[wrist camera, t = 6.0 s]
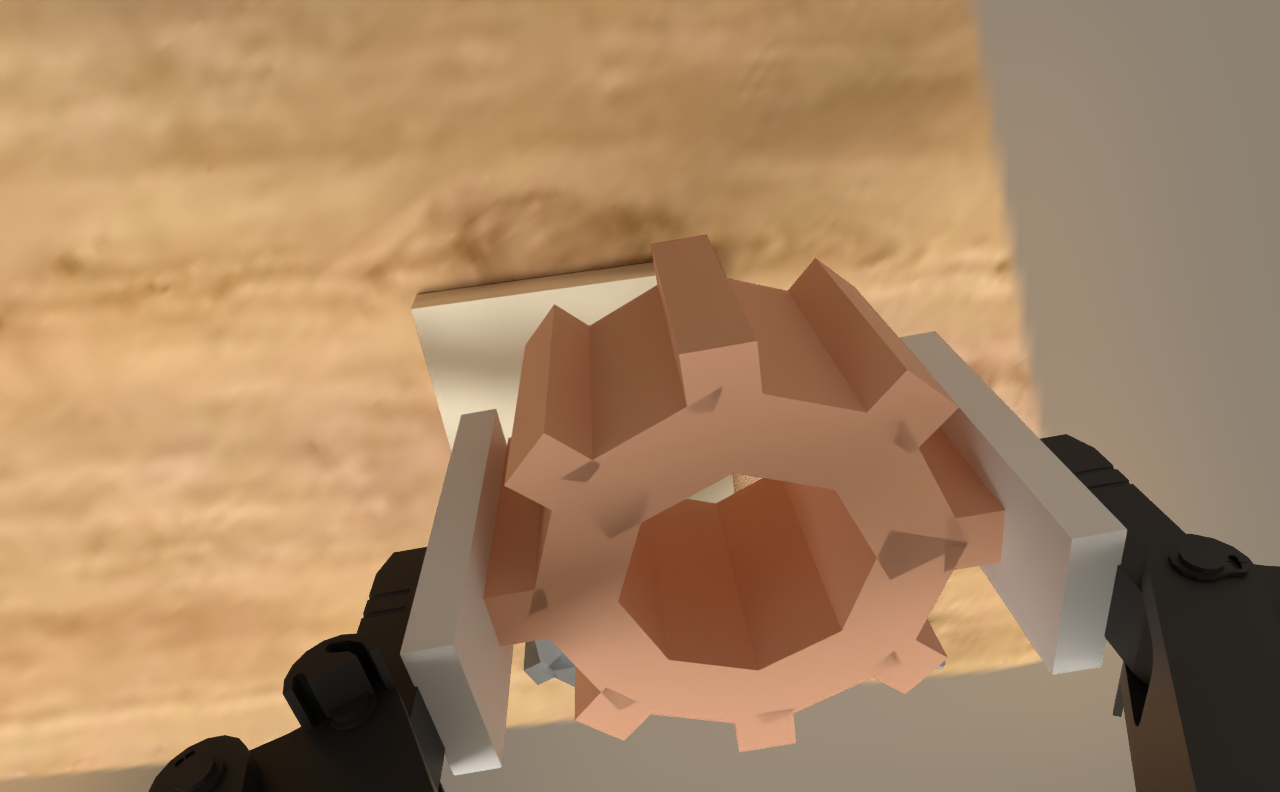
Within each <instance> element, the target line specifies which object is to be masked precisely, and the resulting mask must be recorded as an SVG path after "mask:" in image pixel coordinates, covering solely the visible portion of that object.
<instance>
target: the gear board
mask: <svg viewBox="0 0 1280 792" xmlns="http://www.w3.org/2000/svg"><path fill="white" fill-rule="evenodd" d="M656 285H657V280H656V274H655V268H654V262H650V263H643V264H635V265H628V266H621V267H614V268H606V269H599V270H592V271H584V272H577V273H570V274H562V275H555V276H548V277H540V278H533V279H526V280H519V281H511V282H504V283H497V284H489V285H482V286H475V287H467V288H460V289H453V290H446V291H438V292H431V293H424V294H417V296H416V298H415V301H414V303H413V305H412V307H411V312H412V316H413V319H414V323H415V326H416V330H417V333H418V337H419V340H420V344H421V347H422V351H423V354H424V357H425V361H426V364H427V368H428V371H429V375H430V378H431V382H432V385H433V389H434V392H435V396H436V399H437V403H438V406H439V410H440V413H441V417H442V420H443V424H444V427H445V431H446V434H447V438H448V441H449V444H450V448H451V451H452V449H453V445H454V441H455V437H456V433H457V429H458V426H459V422H460V418H461V415H463V414H469V413H474V412H480V411H486V410H491V409H497V413H498V416H499V420H500V423H501V426H502V430H503V433H504V437H505V440H506V443H508V438H510V437H512V430H513V423H514V417H515V410H516V403H517V397H518V390H519V383H520V377H521V370H522V363H523V357H524V350H525V345H526V343H527V342H528V341H529V339H530V338H531V336H532V335H533V334H534V332H535V331H536V329H537V328H538V326H539V325H540V324H541V322H542V321H543V319H544V318H545V317H546V315H547V314H548V312H549V311H550V309H551V308H552V307H553V305H554V304H555V305H557V306H558V307H560V308H562V309H563V310H565V311H566V312H568V313H570V314H571V315H573V316H574V317H576V318H578V319H579V320H581V321H582V322H584V323H586V324H587V325H589V326H590V325H592V324H593V323H595V322H597V321H598V320H600V319H602V318H603V317H605V316H607V315H608V314H610V313H611V312H613V311H615V310H616V309H618V308H620V307H621V306H623V305H625V304H626V303H628V302H630V301H631V300H633V299H635V298H636V297H638V296H640V295H641V294H643V293H644V292H646V291H648V290H649V289H651V288H653V287H654V286H656ZM732 494H734V485H733V474H731V475H729V476H728V477H726V478H724V479H722V480H720V481H718V482H716V483H714V484H713V485H711V486H709V487H707V488H705V489H703V490H701V491H700V492H698V493H696V494H694V495H692V496H690V497H688V498H687V499H691V500H698V501H704V502H711V503H717V502H719V501H721V500H723V499H725V498H727V497H729V496H730V495H732ZM524 671H525V672H526V673H527V674H528V675H529V676H530V677H531V678H532V679H533V680H534V682H535V683H536V684H537V685H539V684H541V683H543V682H545V681H548V680H550V679H552V678H554V677H555V678H557V679H559V680H561V681H563V682H566V683H568V684H570V685H572V686H574V687H575V665H574V664H573V663H572V662H571V661H570V660H569V659H568V658H567V657H566V655H565V654H564V653H563V652H562V651H561V650H560V649H559V648H558V647H557V646H556V645H555V644H554V643H553V642H552V641H551V640H550V639H549V638H547V639H541V640H535V641H529V642H526V644H525V659H524Z"/></svg>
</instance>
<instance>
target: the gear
mask: <svg viewBox="0 0 1280 792" xmlns="http://www.w3.org/2000/svg"><path fill="white" fill-rule="evenodd" d="M651 249H652V255H653V262H654V268H655V274H656V280H657V285H656V286H654V287H653V288H651V289H649V290H648V291H646V292H644V293H643V294H641V295H640V296H638V297H636V298H635V299H633V300H631V301H630V302H628V303H626V304H625V305H623V306H621V307H620V308H618V309H616V310H615V311H613V312H611V313H610V314H608V315H607V316H605V317H603V318H602V319H600V320H598V321H597V322H595V323H593V324H592V325H590V326H589V325H587V324H586V323H584V322H582V321H581V320H579V319H578V318H576V317H574V316H573V315H571V314H570V313H568V312H566V311H565V310H563V309H562V308H560V307H558V306H557V305H555V304H554V305H553V307H552V308H551V309H550V311H549V312H548V314H547V315H546V317H545V318H544V319H543V321H542V322H541V324H540V325H539V326H538V328H537V329H536V331H535V332H534V334H533V335H532V336H531V338H530V339H529V341H528V342H527V343H526V345H525V350H524V357H523V363H522V370H521V377H520V383H519V390H518V397H517V403H516V410H515V417H514V423H513V430H512V437H510V438H508V443H507V449H506V455H505V462H504V468H503V475H502V481H501V487H500V494H499V500H498V507H497V513H496V520H495V526H494V533H493V539H492V546H491V552H490V559H489V565H488V572H487V579H486V585H485V592H484V598H483V599H484V602H485V605H486V607H487V610H488V613H489V616H490V619H491V622H492V625H493V628H494V630H495V633H496V636H497V639H498V642H499V645H500V646H506V645H512V644H517V643H523V642H529V641H535V640H541V639H547V638H549V639H550V640H551V641H552V642H553V643H554V644H555V645H556V646H557V647H558V648H559V649H560V650H561V651H562V652H563V653H564V654H565V655H566V657H567V658H568V659H569V660H570V661H571V662H572V663H573V664H574V665H575V720H576V721H578V722H581V723H583V724H585V725H588V726H590V727H593V728H595V729H597V730H600V731H602V732H604V733H607V734H609V735H611V736H614V737H616V738H619V739H621V740H623V741H624V740H625V739H626V738H627V737H628V736H629V735H630V734H631V733H632V732H633V731H634V730H635V729H636V728H637V727H638V726H639V725H640V724H641V723H642V722H643V721H644V720H645V719H646V718H647V717H648V716H649V715H650V714H655V715H663V716H673V717H682V718H691V719H700V720H710V721H720V722H729V723H734V728H735V733H736V737H737V742H738V747H739V752H745V751H751V750H757V749H763V748H768V747H775V746H781V745H787V744H793V743H796V736H795V725H794V715H793V714H794V713H796V712H798V711H800V710H802V709H804V708H807V707H809V706H811V705H813V704H815V703H818V702H819V701H822V700H824V699H826V698H829V697H831V696H833V695H835V694H837V693H839V692H842V691H844V690H846V689H848V688H850V687H853V686H855V685H857V684H859V683H861V682H864V681H866V680H868V679H870V678H872V677H873V678H875V679H877V680H879V681H881V682H883V683H884V684H887V685H888V686H891V687H892V688H894V689H896V690H898V691H900V692H902V693H904V694H906V693H907V692H908V691H910V690H911V689H912V688H913V687H914V686H915V685H916V684H918V683H919V682H920V681H921V680H923V679H924V678H925V677H926V676H927V675H928V674H930V673H931V672H932V671H933V670H934V669H936V668H937V667H938V666H939V665H940V664H941V663H943V662H944V661H945V660H946V659H947V658H948V657H947V655H946V653H945V652H944V650H943V648H942V646H941V644H940V642H939V640H938V638H937V637H936V635H935V633H934V631H933V629H932V627H931V625H930V624H929V622H928V620H927V618H928V616H929V614H930V612H931V610H932V608H933V607H934V605H935V603H936V601H937V599H938V597H939V595H940V594H941V592H942V590H943V588H944V586H945V584H946V583H947V581H948V579H949V577H950V575H951V573H952V571H953V570H957V569H963V568H969V567H974V566H980V565H986V564H992V563H998V562H1001V554H1002V542H1003V530H1004V518H1005V509H1004V508H1003V507H1002V505H1001V504H1000V503H999V502H998V500H997V499H996V498H995V497H994V495H993V494H992V493H991V492H990V490H989V489H988V488H987V487H986V485H985V484H984V483H983V481H982V480H981V479H980V478H979V476H978V475H977V474H976V473H975V471H974V470H973V469H972V468H971V466H970V465H969V464H968V463H967V461H966V460H965V459H964V457H963V456H962V455H961V454H960V452H959V451H958V450H957V449H956V447H955V446H954V445H953V444H952V442H951V441H950V440H949V439H948V437H947V436H946V435H945V433H944V432H943V431H942V430H941V428H940V426H941V425H942V424H943V423H944V422H945V421H946V420H947V419H948V418H949V417H950V416H951V415H952V414H953V413H954V412H955V411H956V410H957V409H958V408H959V406H958V405H957V404H956V403H955V402H954V401H953V399H952V398H951V397H950V396H949V395H948V394H947V392H946V391H945V390H944V389H943V388H942V387H941V386H940V384H939V383H938V382H937V381H936V380H935V379H934V378H933V376H932V375H931V374H930V373H929V372H928V371H927V370H926V368H925V367H924V366H923V365H922V364H921V363H920V361H919V360H918V359H917V358H916V357H915V356H914V355H913V353H912V352H911V351H910V350H909V349H908V348H907V347H906V345H905V344H904V343H903V342H902V341H901V340H900V339H899V337H898V336H897V335H896V334H895V333H894V332H893V330H892V329H891V328H890V327H889V326H888V325H887V324H886V322H885V321H884V320H883V319H882V318H881V317H880V316H879V314H878V313H877V312H876V311H875V310H874V309H873V308H872V306H871V305H870V304H869V303H868V302H867V301H866V299H865V298H864V297H863V296H862V295H861V294H860V293H859V291H858V290H857V289H856V288H855V287H854V286H852V285H851V284H850V283H848V282H847V281H846V280H844V279H843V278H842V277H840V276H839V275H838V274H836V273H835V272H834V271H832V270H831V269H830V268H828V267H827V266H826V265H824V264H823V263H821V262H820V261H819V260H817V259H816V258H815V259H814V260H813V261H812V263H811V264H810V265H809V266H808V267H807V269H806V270H805V271H804V272H803V273H802V275H801V276H800V277H799V278H798V279H797V281H796V282H795V283H794V284H793V285H792V287H791V288H790V289H789V290H788V291H785V290H780V289H776V288H771V287H766V286H761V285H756V284H751V283H747V282H742V281H737V280H732V279H727V276H726V274H725V272H724V270H723V268H722V266H721V264H720V262H719V260H718V258H717V256H716V253H715V251H714V249H713V247H712V245H711V243H710V241H709V239H708V237H707V235H701V236H695V237H689V238H684V239H678V240H672V241H667V242H661V243H655V244H651ZM733 473H736V474H742V475H748V476H754V477H760V478H763V479H761V480H759V481H757V482H755V483H753V484H751V485H749V486H747V487H746V488H744V489H742V490H740V491H738V492H736V493H734V494H732V495H730V496H729V497H727V498H725V499H723V500H721V501H719V502H717V503H711V502H704V501H698V500H691V499H687V498H688V497H690V496H692V495H694V494H696V493H698V492H700V491H701V490H703V489H705V488H707V487H709V486H711V485H713V484H714V483H716V482H718V481H720V480H722V479H724V478H726V477H728V476H729V475H731V474H733Z"/></svg>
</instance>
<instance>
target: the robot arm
mask: <svg viewBox="0 0 1280 792" xmlns="http://www.w3.org/2000/svg"><path fill="white" fill-rule="evenodd" d="M899 339H900V340H901V341H902V342H903V343H904V344H905V345H906V347H907V348H908V349H909V350H910V351H911V352H912V353H913V355H914V356H915V357H916V358H917V359H918V360H919V361H920V363H921V364H922V365H923V366H924V367H925V368H926V370H927V371H928V372H929V373H930V374H931V375H932V376H933V378H934V379H935V380H936V381H937V382H938V383H939V384H940V386H941V387H942V388H943V389H944V390H945V391H946V392H947V394H948V395H949V396H950V397H951V398H952V399H953V401H954V402H955V403H956V404H957V405H958V406H959V408H958V409H957V410H956V411H955V412H954V413H953V414H952V415H951V416H950V417H949V418H948V419H947V420H946V421H945V422H944V423H943V424H942V425H941V426H940V428H941V430H942V431H943V432H944V433H945V435H946V436H947V437H948V439H949V440H950V441H951V442H952V444H953V445H954V446H955V447H956V449H957V450H958V451H959V452H960V454H961V455H962V456H963V457H964V459H965V460H966V461H967V463H968V464H969V465H970V466H971V468H972V469H973V470H974V471H975V473H976V474H977V475H978V476H979V478H980V479H981V480H982V481H983V483H984V484H985V485H986V487H987V488H988V489H989V490H990V492H991V493H992V494H993V495H994V497H995V498H996V499H997V500H998V502H999V503H1000V504H1001V505H1002V507H1003V508H1004V509H1005V518H1004V530H1003V542H1002V554H1001V562H998V563H992V564H986V565H980V567H981V569H982V570H983V572H984V573H985V575H986V576H987V578H988V579H989V581H990V582H991V584H992V585H993V587H994V588H995V590H996V591H997V593H998V594H999V596H1000V597H1001V599H1002V600H1003V602H1004V603H1005V605H1006V606H1007V608H1008V609H1009V611H1010V612H1011V614H1012V615H1013V617H1014V618H1015V620H1016V621H1017V623H1018V624H1019V626H1020V627H1021V629H1022V630H1023V632H1024V633H1025V635H1026V636H1027V638H1028V639H1029V641H1030V642H1031V644H1032V645H1033V647H1034V648H1035V650H1036V651H1037V653H1038V654H1039V656H1040V657H1041V659H1042V660H1043V662H1044V663H1045V665H1046V666H1047V668H1048V669H1049V671H1050V672H1051V674H1052V675H1054V674H1060V673H1066V672H1073V671H1079V670H1085V669H1091V668H1097V667H1101V665H1102V660H1103V655H1104V650H1105V644H1106V639H1107V640H1108V641H1109V643H1110V644H1111V645H1112V647H1113V648H1114V649H1115V650H1116V652H1117V653H1118V654H1119V656H1120V657H1121V658H1122V659H1123V665H1122V670H1121V675H1120V680H1119V684H1118V689H1117V694H1116V699H1115V704H1114V710H1113V715H1114V716H1119V717H1121V715H1122V711H1123V706H1124V713H1125V720H1126V725H1127V733H1128V739H1129V746H1130V752H1131V760H1132V766H1133V773H1134V779H1135V786H1136V792H1280V567H1276V566H1264V565H1255V564H1253V563H1252V562H1251V560H1250V559H1249V558H1248V557H1247V556H1245V555H1244V554H1243V553H1241V552H1240V551H1238V550H1237V549H1235V548H1234V547H1232V546H1230V545H1228V544H1225V543H1223V542H1221V541H1218V540H1216V539H1213V538H1209V537H1204V536H1199V535H1194V534H1185V533H1184V532H1183V531H1182V530H1181V529H1180V528H1179V527H1178V526H1177V525H1176V524H1175V523H1174V522H1173V521H1172V520H1170V518H1168V517H1167V516H1166V515H1165V514H1164V513H1163V512H1162V511H1161V510H1160V509H1159V508H1158V507H1156V505H1155V504H1153V503H1152V502H1151V501H1150V500H1149V499H1148V498H1147V497H1146V496H1145V495H1144V494H1143V493H1142V492H1141V491H1140V490H1139V489H1138V488H1137V487H1135V486H1134V485H1133V484H1129V480H1128V479H1127V478H1126V477H1125V476H1124V475H1123V474H1122V473H1121V472H1119V471H1118V470H1117V469H1115V470H1114V468H1113V465H1112V464H1111V463H1110V462H1109V461H1108V460H1107V459H1106V458H1105V457H1104V456H1102V455H1101V454H1100V453H1099V452H1098V451H1097V450H1096V449H1095V448H1093V447H1092V446H1089V445H1087V444H1085V443H1083V442H1081V441H1079V440H1077V439H1075V438H1073V437H1071V436H1069V435H1067V434H1065V435H1059V436H1053V437H1047V438H1042V439H1039V438H1038V437H1037V436H1036V435H1035V434H1034V433H1033V432H1032V431H1031V430H1030V429H1029V428H1028V427H1027V426H1026V424H1025V423H1024V422H1023V421H1022V420H1021V419H1020V418H1019V417H1018V416H1017V415H1016V414H1015V413H1014V412H1013V411H1012V410H1011V409H1010V408H1009V407H1008V406H1007V405H1006V404H1005V403H1004V402H1003V401H1002V400H1001V399H1000V398H999V397H998V396H997V395H996V394H995V392H994V391H993V390H992V389H991V388H990V387H989V386H988V385H987V384H986V383H985V382H984V381H983V380H982V379H981V378H980V377H979V376H978V375H977V374H976V373H975V372H974V371H973V370H972V369H971V368H970V367H969V366H968V365H967V364H966V363H965V362H964V361H963V359H962V358H961V357H960V356H959V355H958V354H957V353H956V352H955V351H954V350H953V349H952V348H951V347H950V346H949V345H948V344H947V343H946V342H945V341H944V340H943V339H942V338H941V337H940V336H939V335H938V334H937V333H936V332H935V331H934V332H928V333H923V334H917V335H911V336H906V337H900V338H899ZM506 449H507V443H506V440H505V437H504V433H503V430H502V426H501V423H500V420H499V416H498V413H497V409H491V410H486V411H480V412H474V413H469V414H463V415H461V418H460V422H459V426H458V429H457V433H456V437H455V441H454V445H453V449H452V453H451V457H450V461H449V464H448V468H447V472H446V476H445V480H444V484H443V488H442V492H441V496H440V500H439V503H438V507H437V511H436V515H435V519H434V523H433V527H432V531H431V535H430V538H429V542H428V546H427V547H423V548H417V549H412V550H406V551H400V552H394V553H393V554H392V555H391V557H390V558H389V559H388V560H387V561H386V563H385V564H384V565H383V566H382V568H381V569H380V570H379V571H378V572H377V574H376V576H375V579H374V582H373V585H372V588H371V592H370V595H369V598H370V599H369V600H368V601H367V604H366V607H365V610H364V613H363V615H364V618H362V619H361V622H360V625H359V628H358V631H357V634H345V635H339V636H336V637H333V638H331V639H328V640H325V641H323V642H321V643H319V644H318V645H316V646H314V647H313V648H311V649H310V650H308V651H306V652H305V653H304V654H303V655H302V656H301V657H300V658H299V659H298V660H297V661H296V662H295V663H294V664H293V665H292V667H291V669H290V671H289V672H288V674H287V676H286V678H285V679H284V687H283V695H284V697H285V699H286V700H287V702H288V704H289V706H290V707H291V709H292V711H293V713H294V714H295V716H296V718H297V720H298V721H299V723H300V725H301V727H300V728H298V729H296V730H294V731H292V732H291V733H289V734H286V735H284V736H282V737H280V738H277V739H275V740H273V741H271V742H268V743H266V744H264V745H261V746H259V747H257V748H255V749H252V750H250V751H249V750H248V748H247V747H246V746H245V745H244V744H243V742H242V741H241V740H240V739H239V738H235V737H231V736H226V735H224V736H218V737H213V738H207V739H205V740H203V741H201V742H199V743H197V744H195V745H192V746H190V747H188V748H187V749H186V750H184V751H183V752H182V753H180V754H179V755H178V756H176V757H175V758H174V759H172V760H171V761H170V762H169V763H168V764H167V765H166V766H165V768H164V769H163V770H162V771H161V772H160V773H159V775H158V776H157V777H156V778H155V780H154V782H153V784H152V786H151V788H150V790H149V792H445V791H444V788H443V786H442V784H441V782H440V778H441V771H442V766H443V760H444V754H445V756H446V758H447V761H448V763H449V765H450V767H451V769H452V772H453V774H454V775H460V774H466V773H471V772H477V771H483V770H489V769H495V768H500V767H502V759H503V749H504V738H505V728H506V717H507V706H508V696H509V685H510V674H511V664H512V653H513V644H512V645H506V646H500V645H499V642H498V639H497V636H496V633H495V630H494V628H493V625H492V622H491V619H490V616H489V613H488V610H487V607H486V605H485V602H484V599H483V598H484V592H485V585H486V579H487V572H488V565H489V559H490V552H491V546H492V539H493V533H494V526H495V520H496V513H497V507H498V500H499V494H500V487H501V481H502V475H503V468H504V462H505V455H506Z"/></svg>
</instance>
